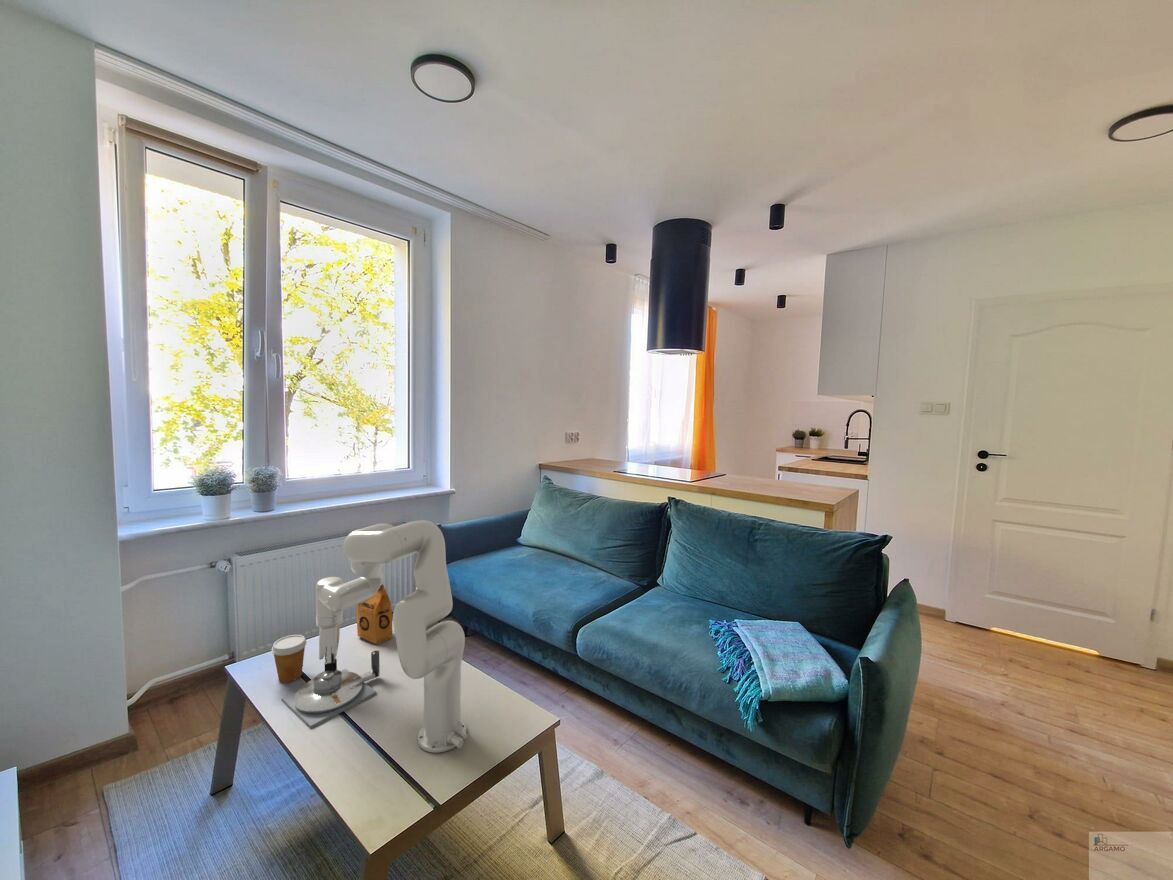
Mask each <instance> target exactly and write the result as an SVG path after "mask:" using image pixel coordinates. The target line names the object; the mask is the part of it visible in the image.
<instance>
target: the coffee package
mask: <svg viewBox="0 0 1173 880" xmlns="http://www.w3.org/2000/svg"><path fill="white" fill-rule="evenodd" d="M392 612H393V611H392V604H391V600H390V597H389V595H388V593H387V590H386V588H385V585H384V584H383V583H382V584H381V586H380V587H379V589H378V590H377V592H376V593H375V595H374V596H373V597H372V598H370V599H369V600H367V601H365V602H363V603H360V604H358V605H356V627H357V628H356V629H357V634H356V635H357V637H360V638H361V639H364V640H365V641H367V642H370V643H373V644H375V645H379V644H381V643H384V642H385V641H388V640H390V639H391V638H393V613H392Z"/></svg>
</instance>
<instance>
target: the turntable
mask: <svg viewBox="0 0 1173 880" xmlns="http://www.w3.org/2000/svg"><path fill="white" fill-rule="evenodd" d="M370 660H371V661H370V663H371V664H370V665H371V666H370V667H371V669H370V671H368V672H365V673H363V674H360V675H359V674H358V673H356V672H353V671H349V672H347V671H342V670H340V671H341V673H342V686H341V688H340V689H339V690H338V691H336V692H334V693H332V694H329V695H324V696H319V695H316V694H315V693H314V683H313V680H314V678H312V679H310V680H308V681H307V682H306V683H303V685H302V686H300V687H299V689H297V690H296V691H297V692H296V694H295V707H296V708H297V709H298V710H299V711H301V712H304V713H310V714H317V713H325V712H329V711H333V710H336V709H338V708H341V707H343V706H345V705H347V704H348V703H350V702H351V701H353V700H354V699H355V698H356V697H357V696H358V695H359V694H360V692H361V690H362V683H363V682H364V683H366V682H368V681H370V680H373V679H376V678H378V677H380V674H381V671H380V670H381V668H380V667H381V666H380V651H379V650H373V651H372V652H370Z"/></svg>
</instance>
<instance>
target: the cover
mask: <svg viewBox="0 0 1173 880" xmlns="http://www.w3.org/2000/svg"><path fill="white" fill-rule="evenodd" d="M341 671H342V670H339V669H337V670H327V671H325V670H324V671H322V672H319V673H318V674H317V675H315V676H314V678H313V679H314V680H313V683H314V693H315V694H316V695H319V696H324V695H329V694H332V693H334V692H336V691H338V690H339V689H340V688H341V686H342V673H341Z"/></svg>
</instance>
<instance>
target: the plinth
mask: <svg viewBox="0 0 1173 880" xmlns="http://www.w3.org/2000/svg"><path fill="white" fill-rule="evenodd" d="M341 671H347V672H350V671H349V670H348V669H347V668H344V669H342V670H341ZM297 691H298V690H296V691H294V692H291V693H289V694H287V695H284V696H282V697H281V698H280V699H281V701H282V702H283V704H284V705H286V707H288V709H290V710H291V712H293V713H294V714H295V715H296V716H297V717H298V718H299V719H300V720H301V721H302V722H303V723H304V724H305V725H307V727H308V728H310V729H313V728H314V727H316V726H318V725H320V724H322V723H324V722H326V721H327V720H330V719H332V718H334V717H335V716H337V715H339V714H340V713H343V712H346V710H349V709H350V708H352V707H354V706H357V705H358V704H360V703H362V702H364V701H365V700H368V699H370V698H371V697H373V696H375V695H377V690H375V688H372V687H371V686H369V684H367V683H366V682H363V683H362V690H361V692H360V694H359V695H358V696H357V697H356V698H355V699H354V700H353V701H351V702H350V703H348V704H347V705H345V706H343V707H341V708H338V709H336V710H333V711H329V712H325V713H317V714H310V713H304V712H301V711H299V710H298V709H297V708H296V707H295V694H296V692H297Z"/></svg>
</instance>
